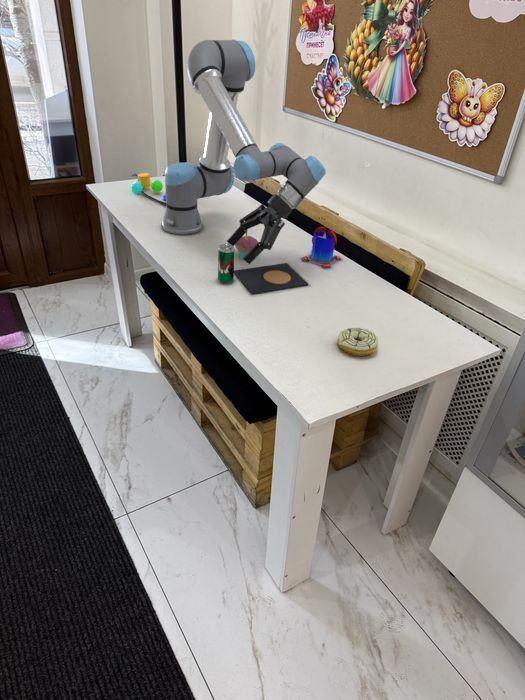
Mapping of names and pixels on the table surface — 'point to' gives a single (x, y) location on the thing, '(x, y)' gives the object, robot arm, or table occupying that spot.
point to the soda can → (226, 263)
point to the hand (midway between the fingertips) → (237, 252)
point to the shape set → (146, 184)
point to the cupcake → (245, 245)
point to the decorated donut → (357, 341)
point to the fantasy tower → (323, 248)
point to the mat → (270, 278)
